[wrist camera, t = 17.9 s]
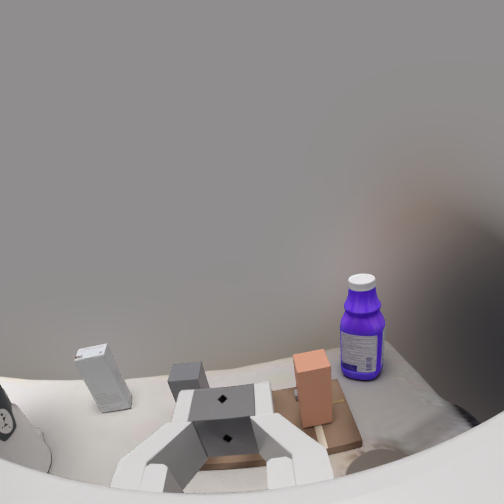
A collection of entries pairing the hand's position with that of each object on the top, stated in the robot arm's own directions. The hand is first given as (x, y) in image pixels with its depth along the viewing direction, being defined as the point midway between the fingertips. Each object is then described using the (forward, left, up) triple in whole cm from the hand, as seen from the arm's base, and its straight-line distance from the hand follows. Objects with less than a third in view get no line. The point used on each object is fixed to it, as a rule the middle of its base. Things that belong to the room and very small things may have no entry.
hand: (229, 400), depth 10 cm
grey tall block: (-10, +25, -26) cm, 37 cm away
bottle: (+16, +33, -28) cm, 46 cm away
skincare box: (-28, +32, -28) cm, 51 cm away
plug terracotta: (+6, +23, -26) cm, 35 cm away
